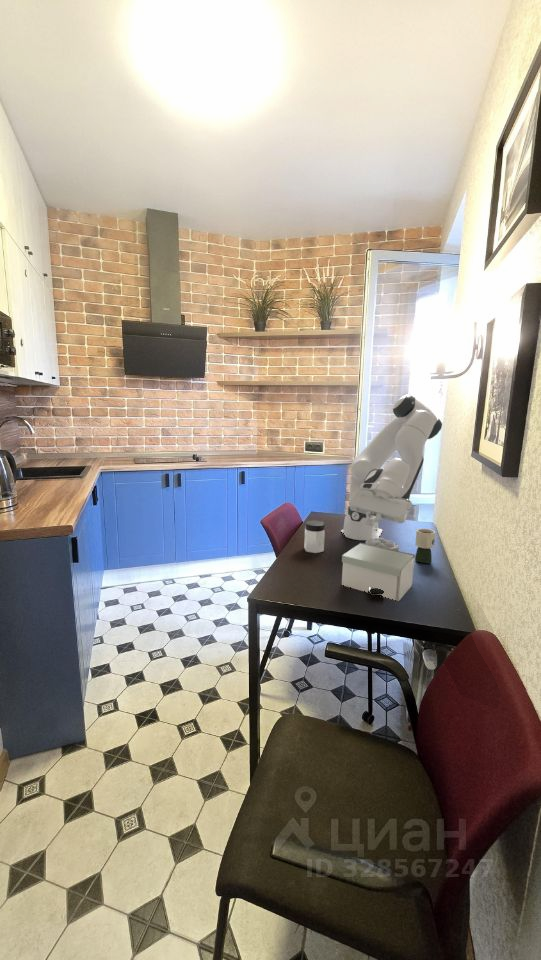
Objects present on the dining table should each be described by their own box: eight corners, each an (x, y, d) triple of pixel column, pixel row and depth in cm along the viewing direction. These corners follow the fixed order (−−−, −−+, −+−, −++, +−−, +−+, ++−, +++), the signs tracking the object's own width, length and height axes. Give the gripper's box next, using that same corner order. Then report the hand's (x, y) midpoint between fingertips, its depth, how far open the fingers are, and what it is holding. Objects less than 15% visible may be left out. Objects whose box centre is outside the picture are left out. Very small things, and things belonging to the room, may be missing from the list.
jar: (311, 554, 172) (312, 527, 170) (299, 548, 179) (300, 522, 177) (328, 550, 177) (329, 523, 175) (315, 545, 184) (316, 519, 182)
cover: (359, 549, 153) (359, 543, 153) (412, 562, 142) (413, 555, 142) (341, 562, 141) (342, 555, 140) (398, 576, 130) (399, 569, 129)
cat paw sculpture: (364, 555, 173) (365, 535, 171) (396, 558, 170) (398, 538, 168) (364, 564, 163) (365, 543, 161) (398, 568, 160) (400, 546, 158)
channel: (358, 571, 156) (360, 542, 154) (412, 585, 145) (415, 554, 143) (341, 584, 144) (343, 553, 142) (398, 601, 133) (401, 567, 130)
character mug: (434, 567, 161) (437, 536, 158) (415, 566, 162) (418, 534, 160) (430, 557, 171) (433, 527, 169) (412, 556, 172) (414, 526, 170)
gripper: (414, 506, 142) (400, 538, 135) (360, 494, 154) (344, 522, 147) (413, 495, 138) (398, 526, 131) (357, 482, 149) (340, 511, 143)
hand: (369, 524), depth 139 cm, fingers closed
